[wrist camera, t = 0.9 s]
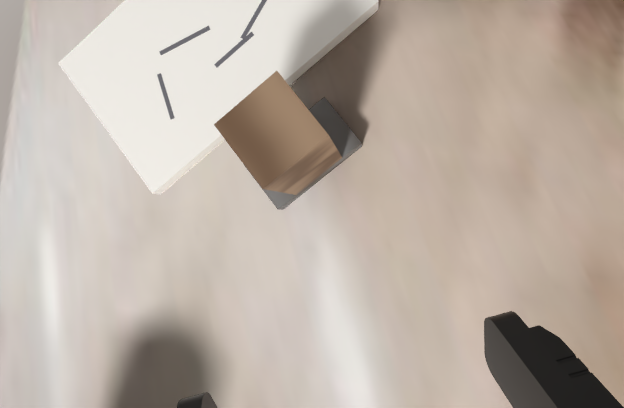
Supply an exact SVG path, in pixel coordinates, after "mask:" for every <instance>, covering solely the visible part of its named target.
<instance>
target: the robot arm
mask: <svg viewBox="0 0 624 408" xmlns="http://www.w3.org/2000/svg"><path fill="white" fill-rule="evenodd" d="M484 342H485V358H486V362H487V364H488V367H489V369H490V371H491V373H492V375H493V377H494V378H495V380H496V382H497V383H498V385H499V386H500V388H501V389H502V391H503V392H504V394H505V396H506V397H507V399H508V400H509V402H510V403H511V405H512V407H513V408H624V407H623V406H622V405H621V404H620V403H619V402H618V401H617V400H616V399H615V398H614V397H613V395H612V394H611V393H610V392H609V391H608V390H607V389H606V388H605V387H604V386H603V385H602V383H601V382H600V381H599V380H598V379H597V378H596V377H595V376H594V375H593V374H592V373H590V372H589V370H588V368H587V367H586V366H585V365H584V364H583V363H582V362H581V360H580V359H579V358H576V356H575V354H574V353H573V352H572V351H571V350H570V348H569V347H568V346H567V345H566V344H565V343H564V342H563V341H562V340H561V339H560V338H559V337H557V336H556V335H554V334H553V333H551V332H549V331H548V330H546V329H544V328H543V327H541V326H535V327H532V328H528V326H527V325H526V324H525V323H524V322H523V321H522V319H521V318H520V317H519V316H518V315H517V314H516V313H515V312H512V311H510V312H507V313H503V314H499V315H495V316H492V317H488V318H485V321H484ZM177 408H217V406H216V404H215V402H214V401H213V399H212V397H211V395H210V394H209V393H208V392H206V393H202V394H198V395H195V396H191V397H187V398H184V399H181V400H180V401H179V402H178V405H177Z"/></svg>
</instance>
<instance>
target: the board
mask: <svg viewBox="0 0 624 408" xmlns="http://www.w3.org/2000/svg"><path fill="white" fill-rule="evenodd" d="M376 11H378V0H125V1H124V2H123V3H121V4H120V5H119V6H118V7H117V8H116V9H115V10H114V11H113V12H112V13H111V14H110V15H109V16H108V17H107V18H106V19H105V20H103V21H102V22H101V23H100V24H99V25H98V26H97V27H96V28H95V29H94V30H93V31H92V32H91V33H90V34H89V35H88V36H87V37H85V38H84V39H83V40H82V41H81V42H80V43H79V44H78V45H77V46H76V47H75V48H74V49H73V50H72V51H71V52H70V53H68V54H67V55H66V56H65V57H64V58H63V59H62V60H61V61H60V62H59V63H58V64H59V65H60V67H61V68H62V69H63V71H64V72H65V74H66V75H67V76H68V78H69V79H70V80H71V82H72V83H73V85H74V86H75V87H76V89H77V90H78V91H79V93H80V94H81V96H82V97H83V98H84V100H85V101H86V103H87V104H88V105H89V107H90V108H91V109H92V111H93V112H94V114H95V115H96V116H97V118H98V119H99V121H100V122H101V123H102V125H103V126H104V127H105V129H106V130H107V132H108V133H109V134H110V136H111V137H112V139H113V140H114V141H115V143H116V144H117V145H118V147H119V148H120V150H121V151H122V152H123V154H124V155H125V157H126V158H127V159H128V161H129V162H130V163H131V165H132V166H133V168H134V169H135V170H136V172H137V173H138V175H139V176H140V177H141V179H142V180H143V181H144V183H145V184H146V186H147V187H148V188H149V190H150V191H151V193H152V194H162V193H163V192H165V191H166V190H167V189H168V188H169V187H170V186H172V185H173V184H174V183H175V182H176V181H177V180H179V179H180V178H181V177H182V176H183V175H185V174H186V173H187V172H188V171H189V170H190V169H192V168H193V167H194V166H195V165H196V164H197V163H199V162H200V161H201V160H202V159H203V158H205V157H206V156H207V155H208V154H209V153H210V152H212V151H213V150H214V149H215V148H216V147H218V146H219V145H220V144H221V143H222V142H223V141H225V139H224V137H223V136H222V135H221V133H220V132H219V131H218V130H217V128H216V127H215V126H214V124H215V123H216V122H217V121H219V120H220V119H221V118H222V117H223V116H224V115H226V114H227V113H228V112H229V111H230V110H231V109H233V108H234V107H235V106H236V105H237V104H238V103H239V102H241V101H242V100H243V99H244V98H245V97H246V96H248V95H249V94H250V93H251V92H252V91H253V90H255V89H256V88H257V87H258V86H259V85H260V84H262V83H263V82H264V81H265V80H266V79H267V78H269V77H270V76H271V75H272V74H273V73H274V72H276V71H278V72H279V74H280V75H281V76H282V77H283V79H284V80H285V81H286V82H287V84H288V85H290V84H292V83H293V82H294V81H295V80H296V79H298V78H299V77H300V76H301V75H302V74H303V73H305V72H306V71H307V70H308V69H309V68H311V67H312V66H313V65H314V64H315V63H316V62H318V61H319V60H320V59H321V58H322V57H323V56H325V55H326V54H327V53H328V52H329V51H331V50H332V49H333V48H334V47H335V46H336V45H338V44H339V43H340V42H341V41H342V40H343V39H345V38H346V37H347V36H348V35H349V34H351V33H352V32H353V31H354V30H355V29H356V28H358V27H359V26H360V25H361V24H362V23H363V22H365V21H366V20H367V19H368V18H369V17H371V16H372V15H373V14H374V13H375V12H376Z"/></svg>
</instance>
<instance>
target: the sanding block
mask: <svg viewBox="0 0 624 408" xmlns="http://www.w3.org/2000/svg"><path fill="white" fill-rule="evenodd" d="M214 126H215V127H216V128H217V130H218V131H219V132H220V133H221V135H222V136H223V137H224V139H225V140H226V141H227V143H228V144H229V145H230V147H231V148H232V149H233V151H234V152H235V153H236V154H237V156H238V157H239V158H240V160H241V161H242V162H243V164H244V166H245V167H246V168H247V169H248V171H249V172H250V173H251V175H252V176H253V177H254V179H255V180H256V181H257V183H258V184H259V185H260V187H261V188H262V189H263V190H264V192H265V193H266V194H267V196H268V197H269V198H270V200H271V201H272V202H273V204H274V205H275V206H276V208H277V209H284V208H286V207H287V206H288V205H289V204H291V203H292V202H293V201H294V200H296V199H297V198H298V197H299V196H301V195H302V194H303V193H304V192H306V191H307V190H308V189H309V188H311V187H312V186H313V185H314V184H316V183H317V182H318V181H319V180H321V179H322V178H323V177H324V176H326V175H327V174H328V173H329V172H331V171H332V170H333V169H334V168H336V167H337V166H338V165H339V164H341V163H342V162H343V161H344V160H346V159H347V158H348V157H349V156H351V155H352V154H353V153H354V152H355V151H357V150H358V149H359V148H360V147H362V144H361V142H360V140H359V139H358V138H357V137H356V135H355V134H354V133H353V132H352V130H351V129H350V128H349V127H348V126H347V124H346V123H345V122H344V121H343V119H342V118H341V117H340V116H339V114H338V113H337V112H336V111H335V110H334V108H333V107H332V106H331V105H330V103H329V102H328V101H327V100H326V98H325V97H324V98H322V99H321V100H320V101H319V102H318V103H316V104H315V105H314V106H313V107H312V108H310V109H309V110H308V109H307V107H306V106H305V105H304V104H303V102H302V101H301V100H300V99H299V97H298V96H297V95H296V94H295V92H294V91H293V90H292V89H291V87H290V86H289V85H288V84H287V82H286V81H285V80H284V79H283V77H282V76H281V75H280V74H279V72H278V71H276V72H274V73H273V74H272V75H271V76H270V77H269V78H267V79H266V80H265V81H264V82H263V83H262V84H260V85H259V86H258V87H257V88H256V89H255V90H253V91H252V92H251V93H250V94H249V95H248V96H246V97H245V98H244V99H243V100H242V101H241V102H239V103H238V104H237V105H236V106H235V107H234V108H233V109H231V110H230V111H229V112H228V113H227V114H226V115H224V116H223V117H222V118H221V119H220V120H219V121H217V122H216V123H215V124H214Z"/></svg>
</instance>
